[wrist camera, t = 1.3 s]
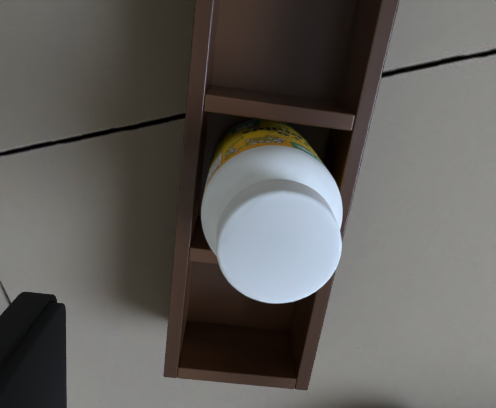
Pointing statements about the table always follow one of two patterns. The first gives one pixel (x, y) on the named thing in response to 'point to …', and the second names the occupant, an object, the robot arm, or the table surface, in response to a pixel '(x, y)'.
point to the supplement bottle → (271, 212)
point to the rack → (276, 109)
